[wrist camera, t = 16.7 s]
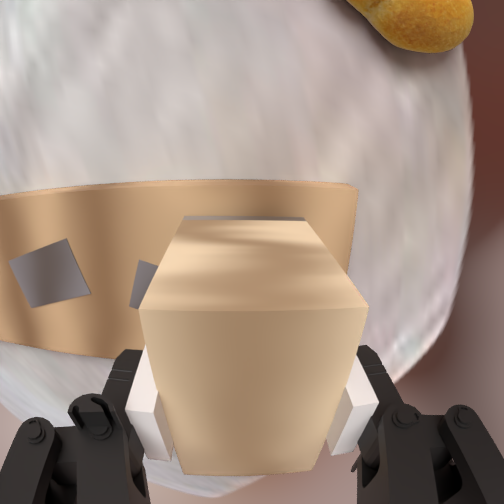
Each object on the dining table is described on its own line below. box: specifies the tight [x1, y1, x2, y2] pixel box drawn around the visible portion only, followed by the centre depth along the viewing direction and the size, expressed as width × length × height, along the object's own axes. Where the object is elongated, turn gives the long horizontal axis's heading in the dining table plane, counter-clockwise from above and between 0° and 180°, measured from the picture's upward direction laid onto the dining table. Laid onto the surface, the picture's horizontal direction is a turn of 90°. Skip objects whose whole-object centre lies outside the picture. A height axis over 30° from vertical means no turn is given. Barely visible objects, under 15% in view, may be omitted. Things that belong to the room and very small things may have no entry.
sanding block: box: [138, 216, 369, 476], centre depth 11 cm, size 5×8×7 cm, turn 178°
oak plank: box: [0, 179, 358, 359], centre depth 15 cm, size 26×10×2 cm, turn 89°
